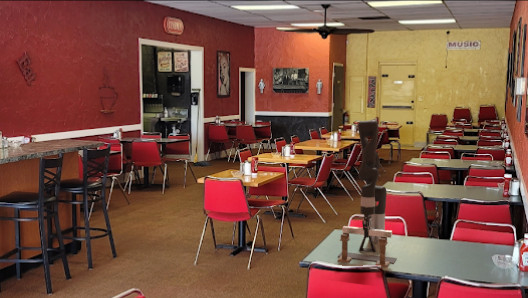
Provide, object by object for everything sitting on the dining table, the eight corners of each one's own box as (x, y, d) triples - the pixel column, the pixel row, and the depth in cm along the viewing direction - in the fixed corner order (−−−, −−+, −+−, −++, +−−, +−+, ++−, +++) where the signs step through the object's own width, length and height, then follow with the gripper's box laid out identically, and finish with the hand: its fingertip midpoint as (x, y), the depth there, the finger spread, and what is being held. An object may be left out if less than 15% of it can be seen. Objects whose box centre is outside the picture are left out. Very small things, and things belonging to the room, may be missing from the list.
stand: (340, 258, 306) (340, 231, 304) (389, 264, 296) (390, 236, 294) (337, 261, 300) (337, 234, 298) (387, 267, 290) (387, 239, 289)
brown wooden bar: (343, 231, 311) (344, 226, 311) (391, 236, 301) (392, 230, 301) (342, 232, 308) (342, 227, 308) (390, 237, 298) (391, 232, 298)
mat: (341, 252, 316) (341, 251, 316) (396, 259, 305) (396, 257, 305) (337, 257, 308) (337, 256, 308) (393, 263, 296) (393, 262, 296)
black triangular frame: (358, 251, 319) (359, 230, 318) (359, 248, 325) (359, 227, 324) (375, 252, 317) (375, 231, 316) (375, 249, 323) (376, 228, 322)
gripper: (363, 202, 311) (362, 232, 313) (357, 206, 298) (356, 239, 300) (377, 203, 308) (376, 234, 310) (371, 208, 295) (371, 240, 297)
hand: (366, 236), depth 305 cm, fingers closed on brown wooden bar, 3 cm apart
